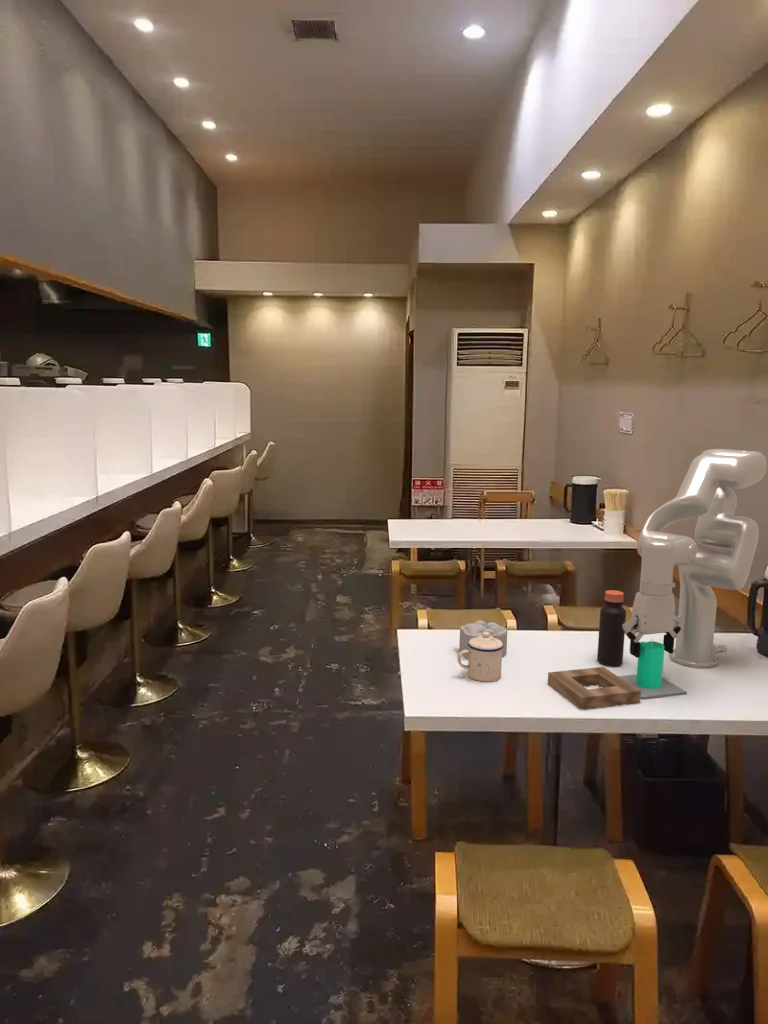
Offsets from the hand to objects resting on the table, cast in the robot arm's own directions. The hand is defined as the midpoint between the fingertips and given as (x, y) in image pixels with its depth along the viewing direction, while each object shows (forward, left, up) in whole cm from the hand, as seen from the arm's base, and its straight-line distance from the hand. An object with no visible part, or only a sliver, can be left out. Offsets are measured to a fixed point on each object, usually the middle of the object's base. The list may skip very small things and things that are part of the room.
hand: (651, 653), depth 184 cm
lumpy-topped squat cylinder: (+31, -32, -9) cm, 46 cm away
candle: (0, 0, -8) cm, 8 cm away
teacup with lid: (+39, -17, -9) cm, 44 cm away
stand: (+16, 0, -9) cm, 19 cm away
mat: (0, 0, -9) cm, 9 cm away
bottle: (0, -17, -9) cm, 19 cm away
